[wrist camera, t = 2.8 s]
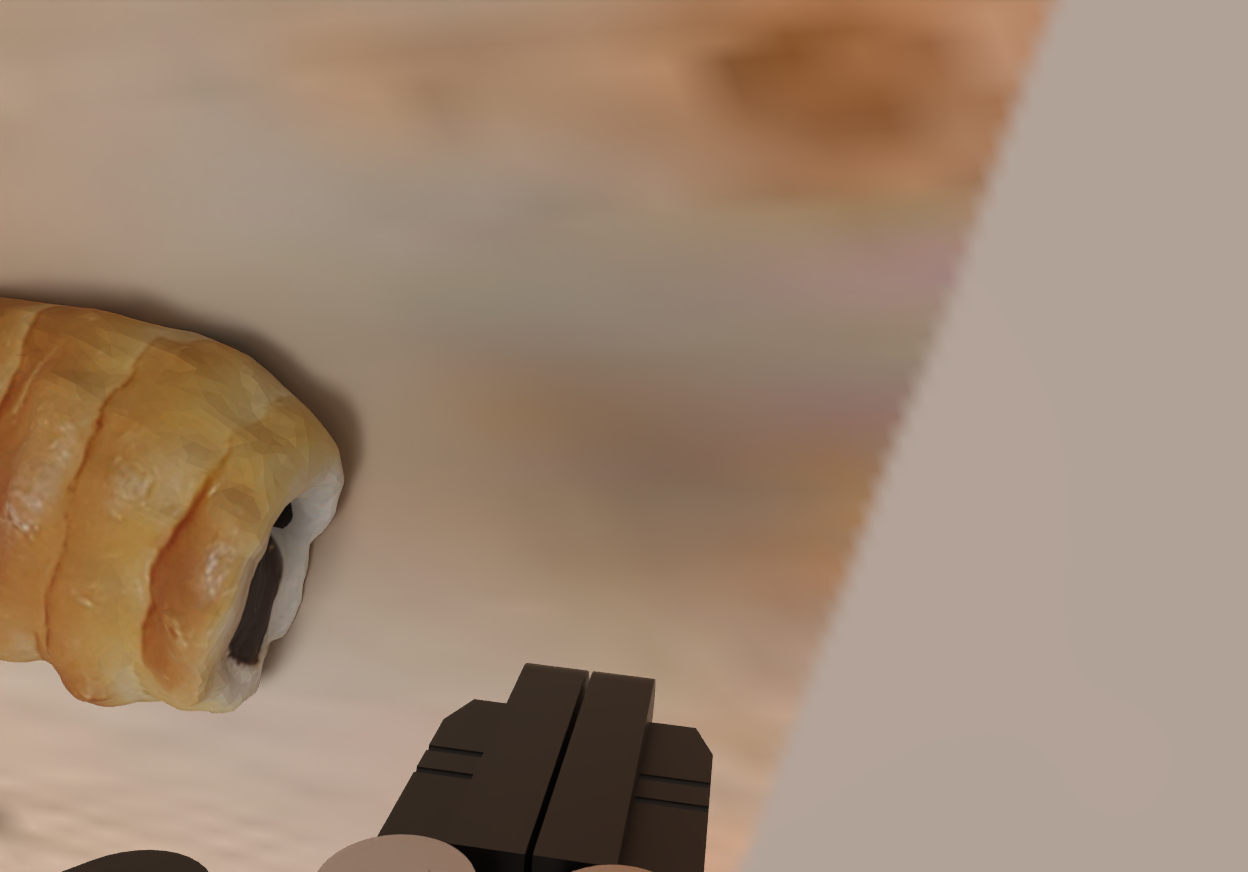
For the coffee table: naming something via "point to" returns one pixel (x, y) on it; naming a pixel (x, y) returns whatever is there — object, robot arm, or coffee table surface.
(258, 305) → the coffee table surface
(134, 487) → the pastry
